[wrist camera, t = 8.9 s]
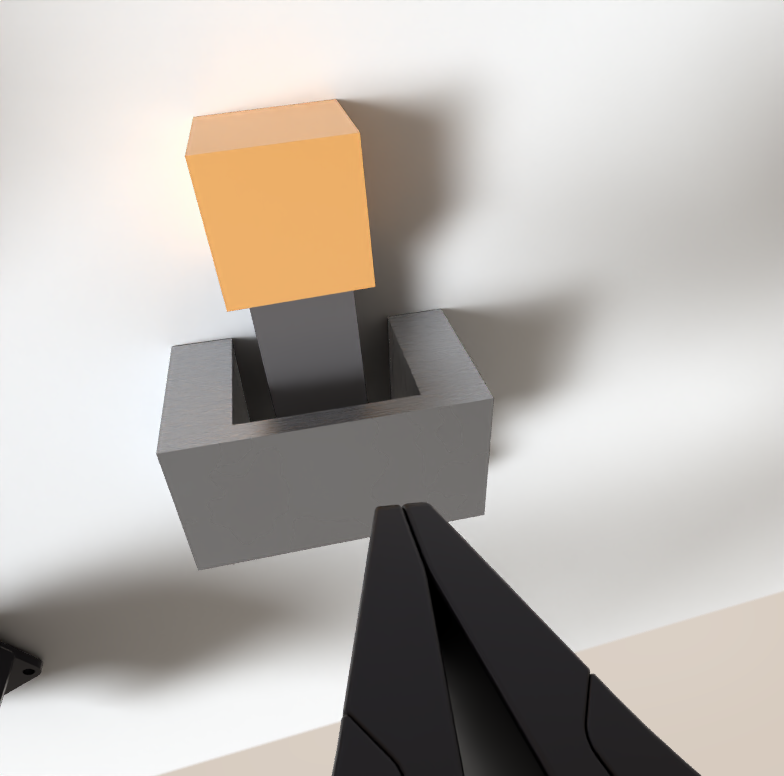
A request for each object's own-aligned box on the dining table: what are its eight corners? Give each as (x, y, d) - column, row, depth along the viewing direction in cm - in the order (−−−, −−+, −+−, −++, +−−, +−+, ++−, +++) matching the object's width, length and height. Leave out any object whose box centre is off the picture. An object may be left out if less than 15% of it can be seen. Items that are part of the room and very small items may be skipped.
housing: (446, 468, 27) (488, 569, 22) (211, 510, 25) (208, 627, 21) (450, 307, 22) (504, 396, 18) (161, 348, 20) (143, 455, 16)
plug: (378, 456, 26) (399, 528, 22) (284, 476, 25) (292, 551, 22) (335, 98, 17) (359, 132, 14) (193, 116, 17) (184, 156, 14)
